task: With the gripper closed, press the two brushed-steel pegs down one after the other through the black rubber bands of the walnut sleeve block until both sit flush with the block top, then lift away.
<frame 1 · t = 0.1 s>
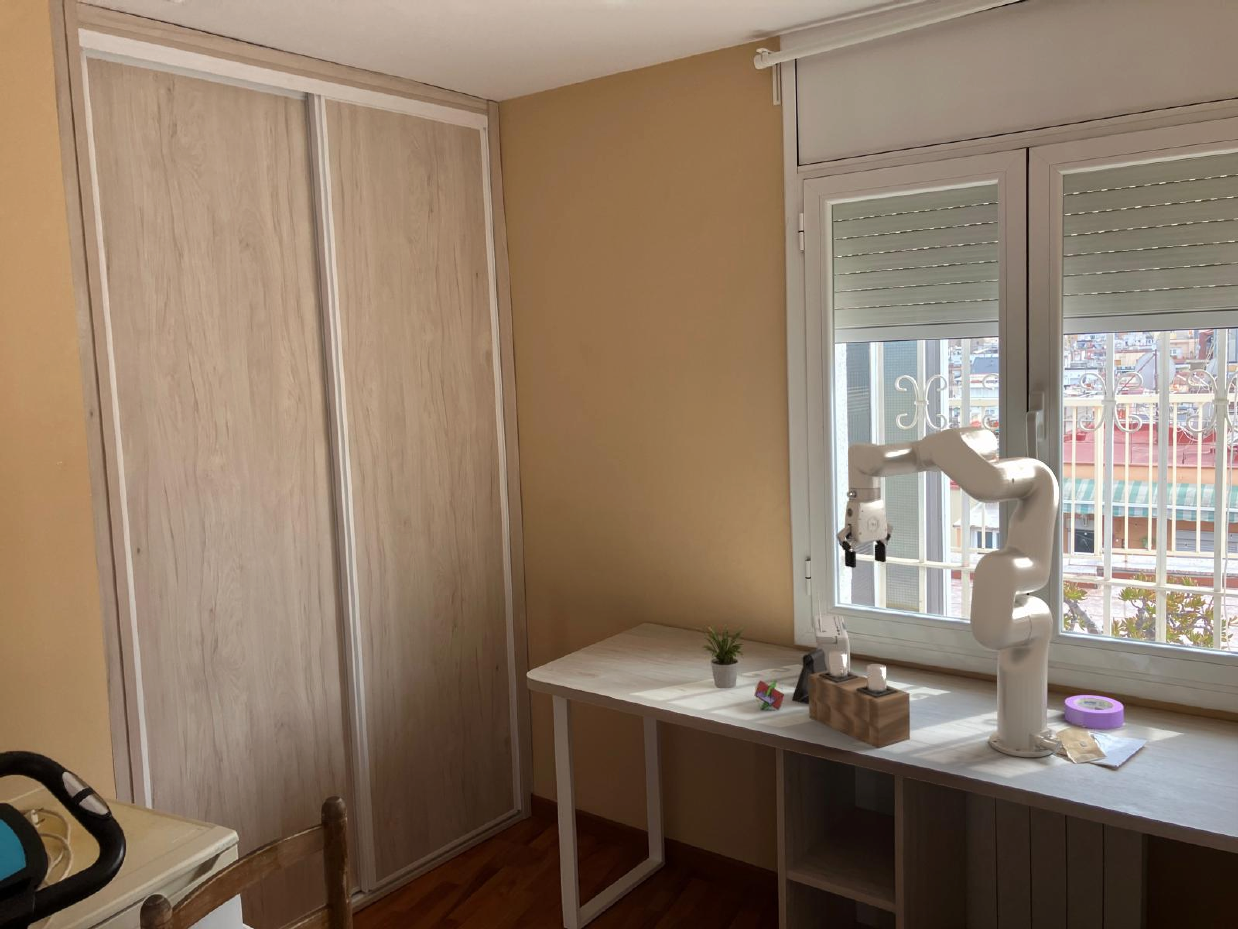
hand: (865, 564, 240), 31 cm above the table, tool pointing down, fingers open, 9 cm apart
house plant: (720, 686, 250), on the table
phone stand: (814, 701, 237), on the table
peg near: (876, 687, 212), point 11 cm above the table, slide at 0.0 cm
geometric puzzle: (769, 709, 233), on the table
peg far: (838, 673, 223), point 11 cm above the table, slide at 0.0 cm
stereo radio cassette player: (831, 675, 255), on the table
sleeve block: (857, 727, 219), on the table
masking tape: (1093, 721, 218), on the table
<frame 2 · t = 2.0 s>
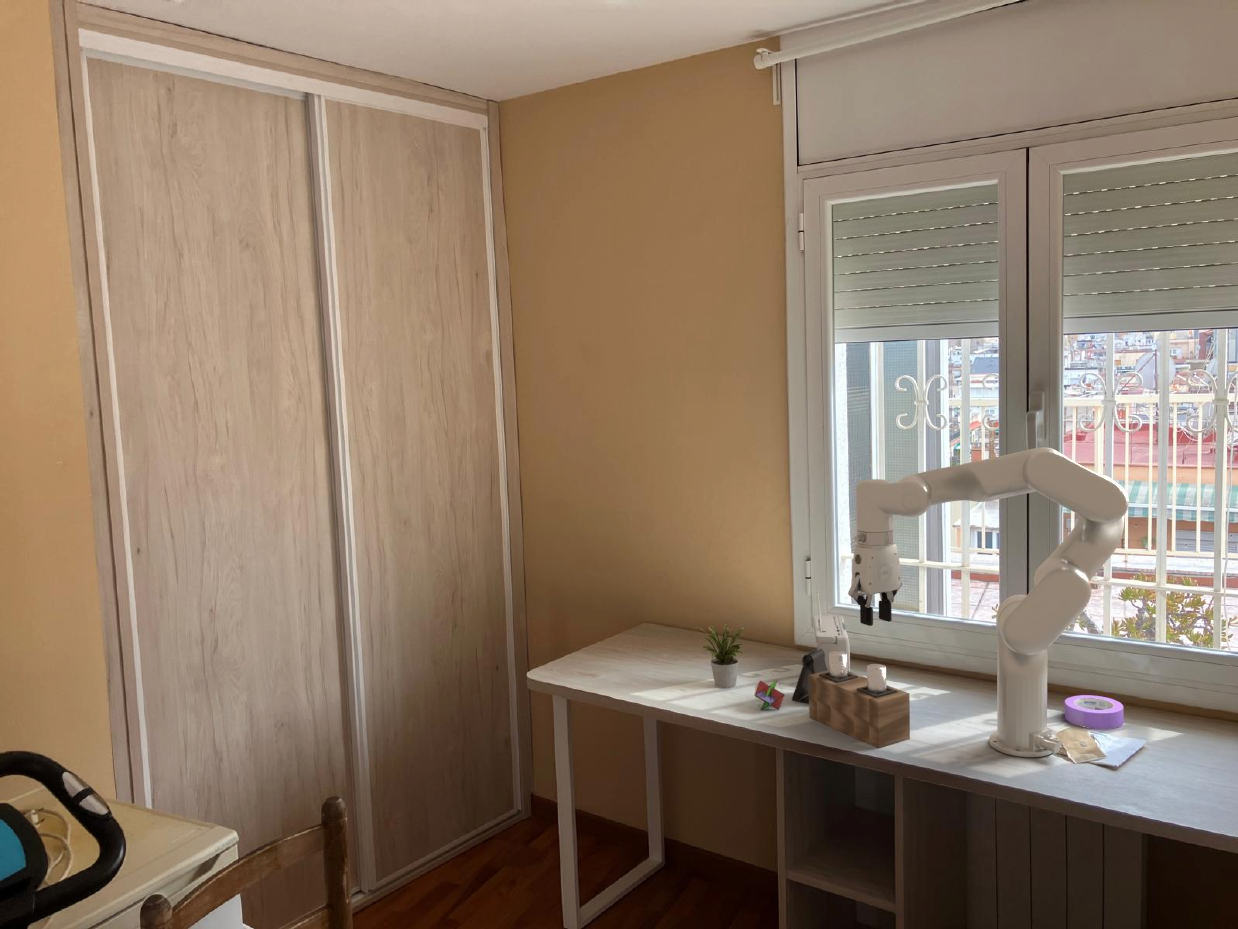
hand: (875, 621, 211), 25 cm above the table, tool pointing down, fingers open, 4 cm apart
nothing on the table moved.
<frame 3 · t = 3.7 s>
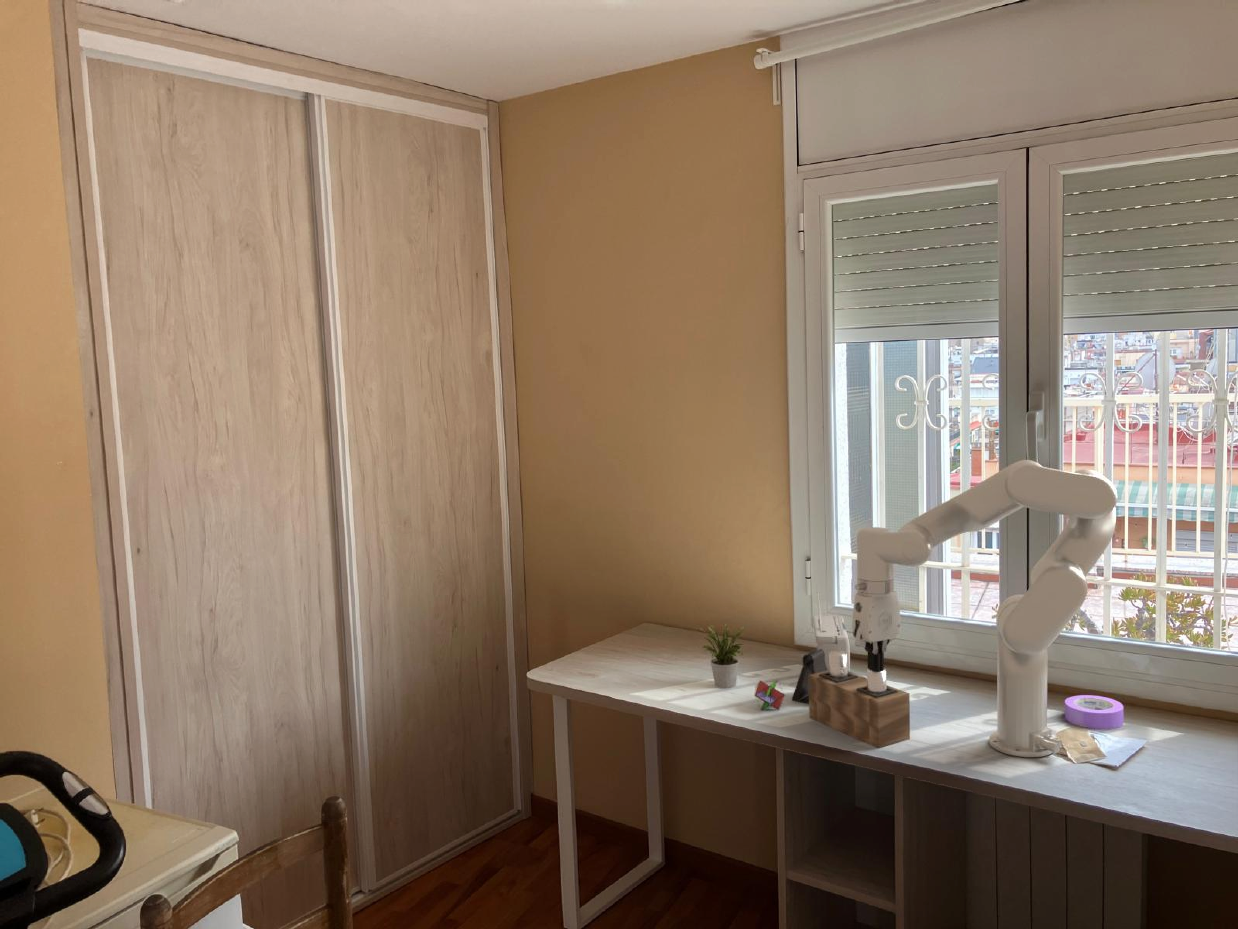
hand: (875, 669, 212), 15 cm above the table, tool pointing down, fingers closed
peg near: (876, 690, 212), point 10 cm above the table, slide at 0.7 cm, touching gripper
everything else where it was.
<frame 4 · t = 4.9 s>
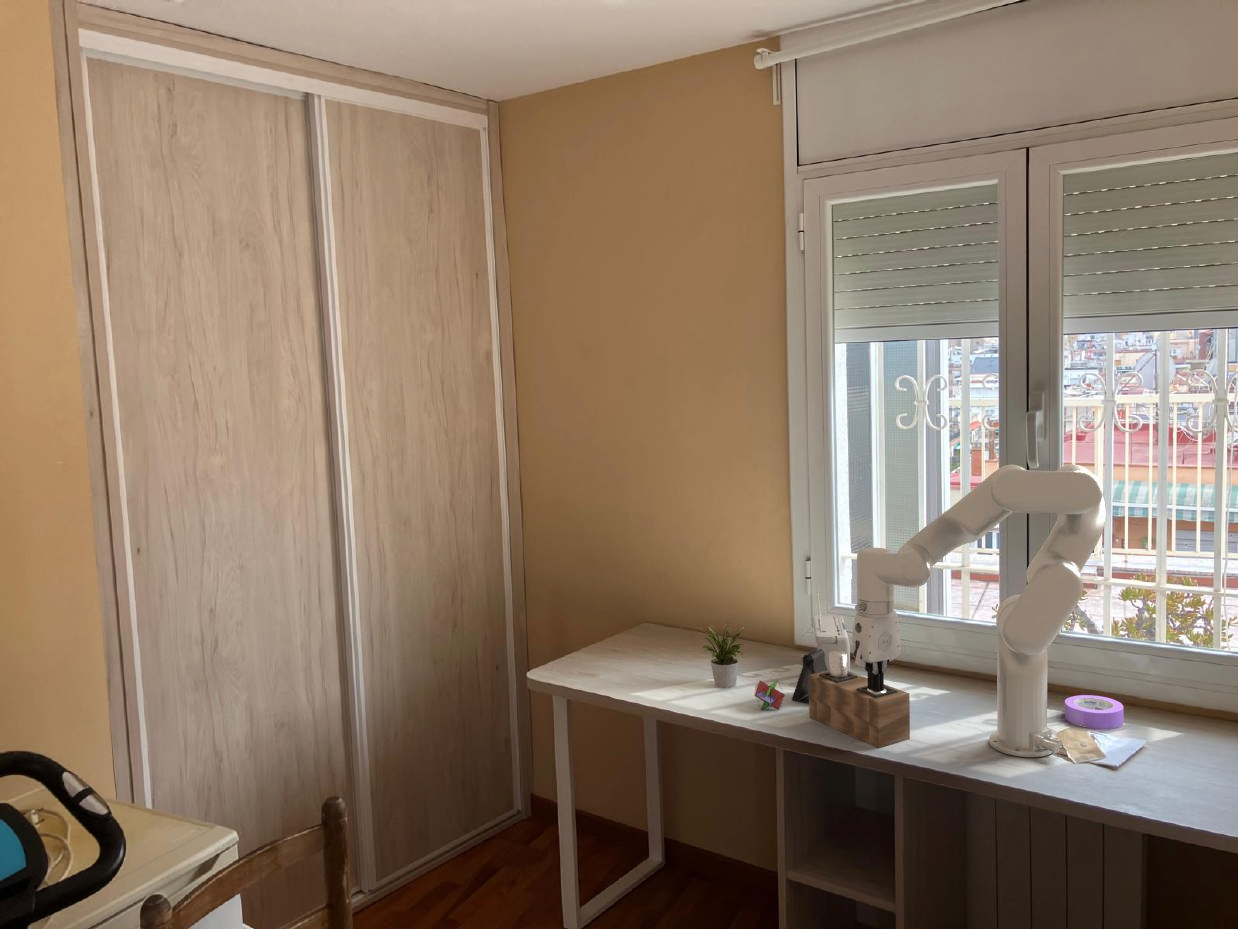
hand: (875, 689, 212), 10 cm above the table, tool pointing down, fingers closed
peg near: (877, 710, 213), point 6 cm above the table, slide at 5.1 cm, touching gripper
everything else where it was.
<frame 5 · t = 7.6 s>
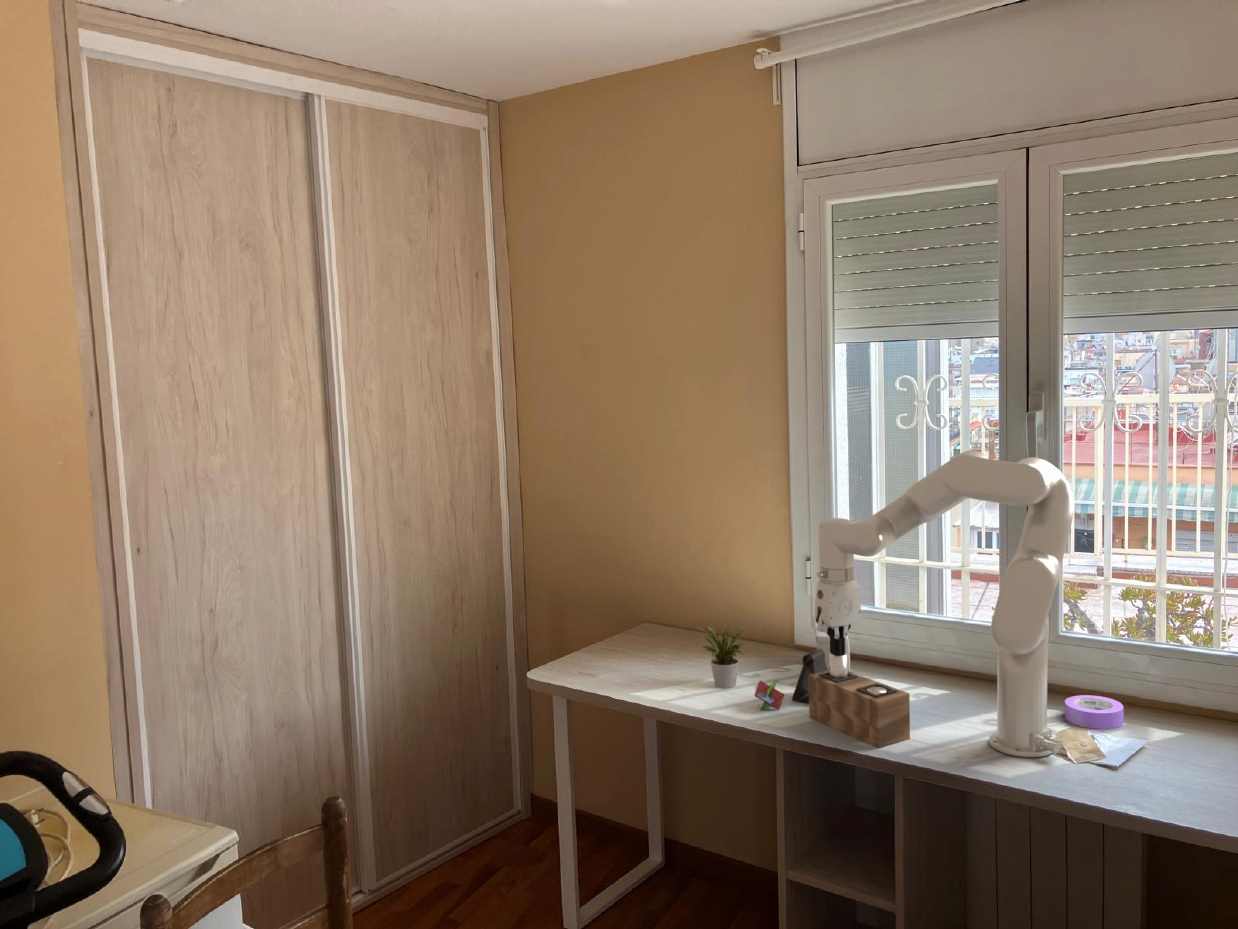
hand: (837, 654, 222), 15 cm above the table, tool pointing down, fingers closed
peg near: (877, 710, 213), point 6 cm above the table, slide at 5.1 cm
peg far: (838, 673, 223), point 11 cm above the table, slide at 0.2 cm, touching gripper
everything else where it was.
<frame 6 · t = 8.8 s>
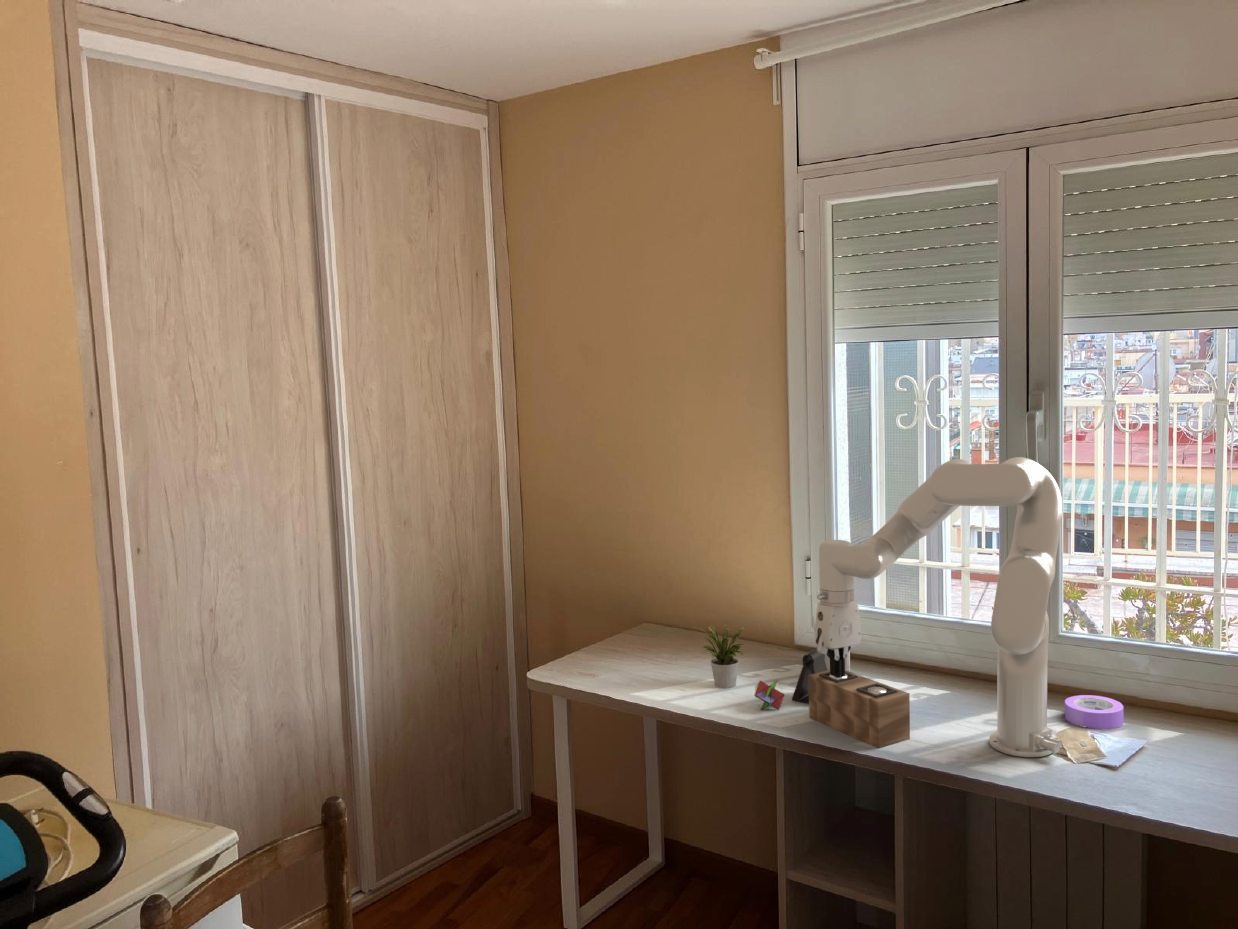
hand: (837, 675, 223), 10 cm above the table, tool pointing down, fingers closed
peg far: (838, 694, 223), point 6 cm above the table, slide at 5.1 cm, touching gripper
everything else where it was.
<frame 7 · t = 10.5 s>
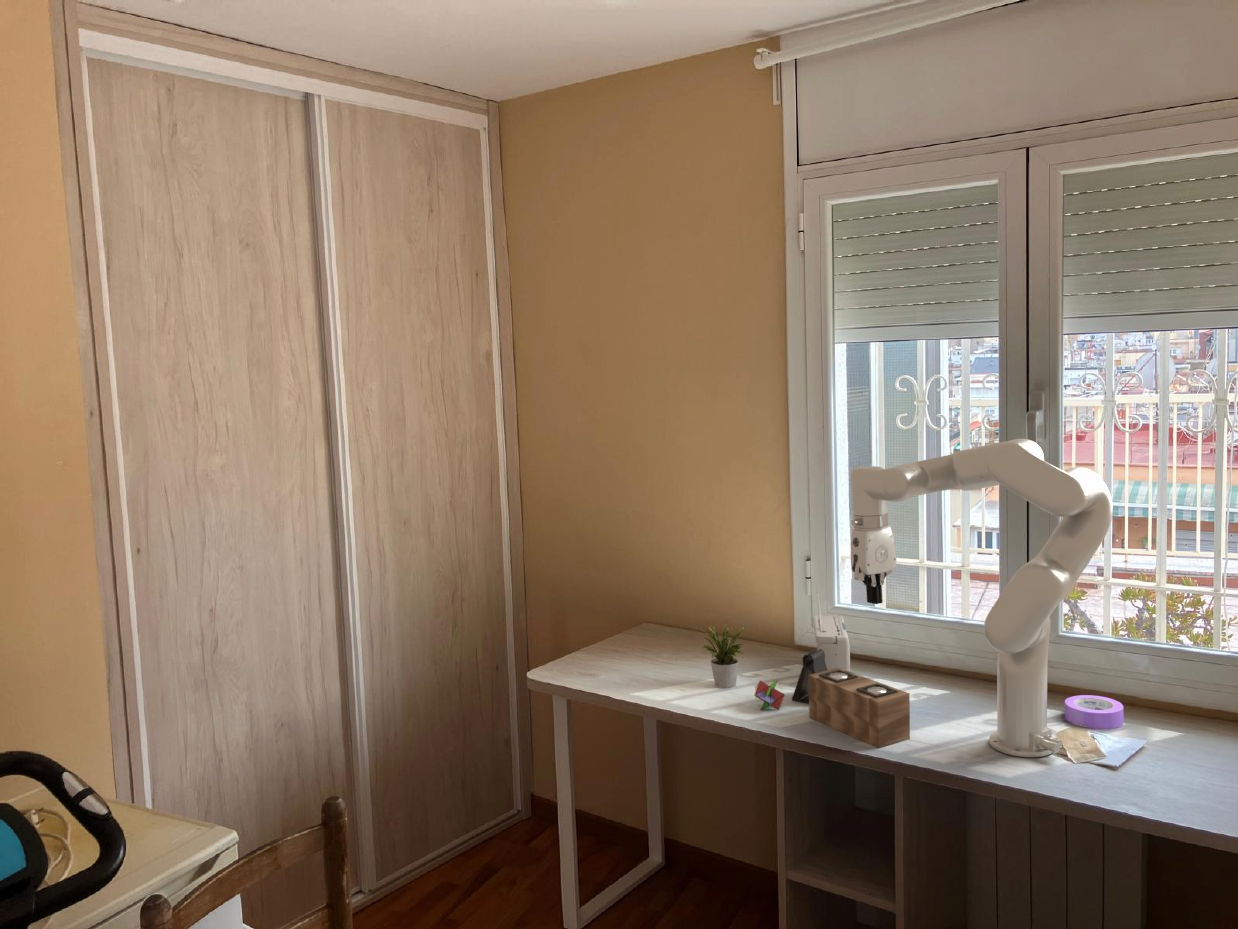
hand: (874, 602, 222), 27 cm above the table, tool pointing down, fingers closed
peg far: (838, 694, 223), point 6 cm above the table, slide at 5.1 cm
everything else where it was.
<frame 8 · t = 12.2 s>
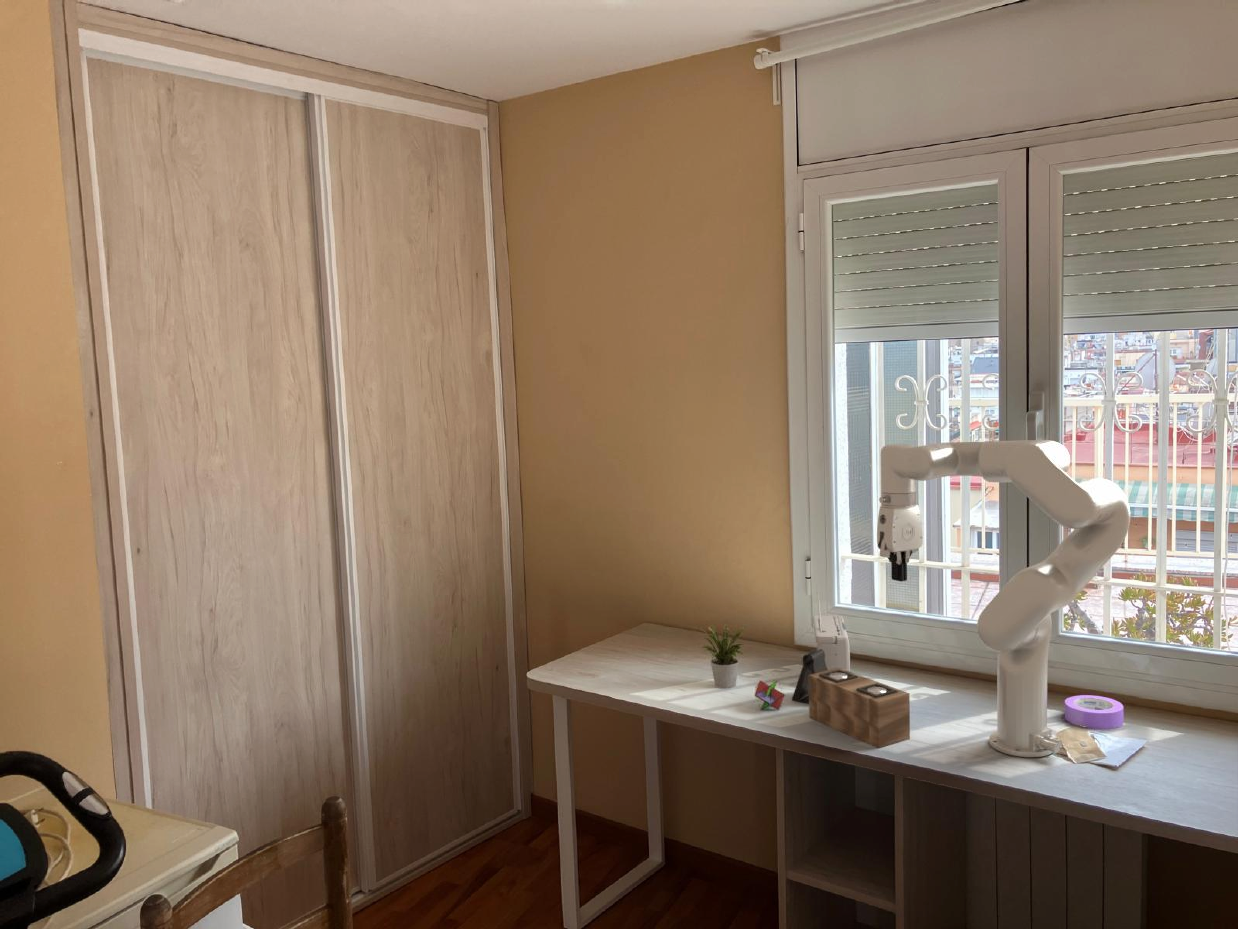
hand: (899, 579, 223), 31 cm above the table, tool pointing down, fingers closed
nothing on the table moved.
at the end: peg near slide at 5.1 cm; peg far slide at 5.1 cm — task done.
